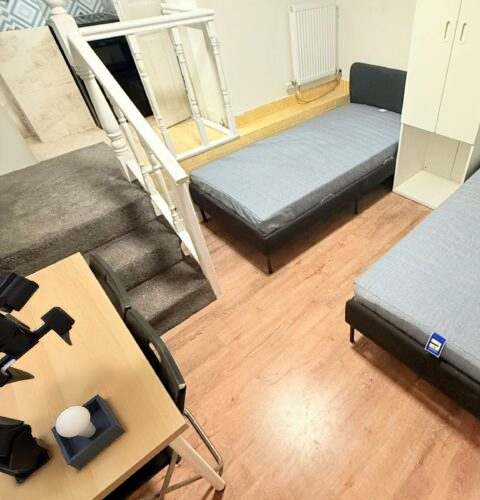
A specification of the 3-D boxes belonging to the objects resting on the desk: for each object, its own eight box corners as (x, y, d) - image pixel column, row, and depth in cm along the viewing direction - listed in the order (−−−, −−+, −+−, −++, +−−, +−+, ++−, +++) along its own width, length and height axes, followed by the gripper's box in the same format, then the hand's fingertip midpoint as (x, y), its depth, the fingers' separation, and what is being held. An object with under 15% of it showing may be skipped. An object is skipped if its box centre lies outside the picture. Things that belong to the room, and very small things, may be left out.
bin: (79, 470, 74) (67, 464, 71) (62, 435, 79) (50, 429, 76) (125, 431, 79) (116, 424, 76) (106, 401, 85) (97, 393, 81)
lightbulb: (91, 451, 76) (64, 436, 68) (71, 442, 78) (42, 426, 70) (111, 424, 80) (87, 406, 72) (91, 415, 82) (66, 397, 74)
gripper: (25, 279, 74) (71, 313, 86) (-70, 348, 65) (-5, 374, 77) (51, 303, 69) (95, 335, 82) (-47, 380, 60) (18, 403, 72)
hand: (52, 360), depth 78 cm, fingers open, 9 cm apart
